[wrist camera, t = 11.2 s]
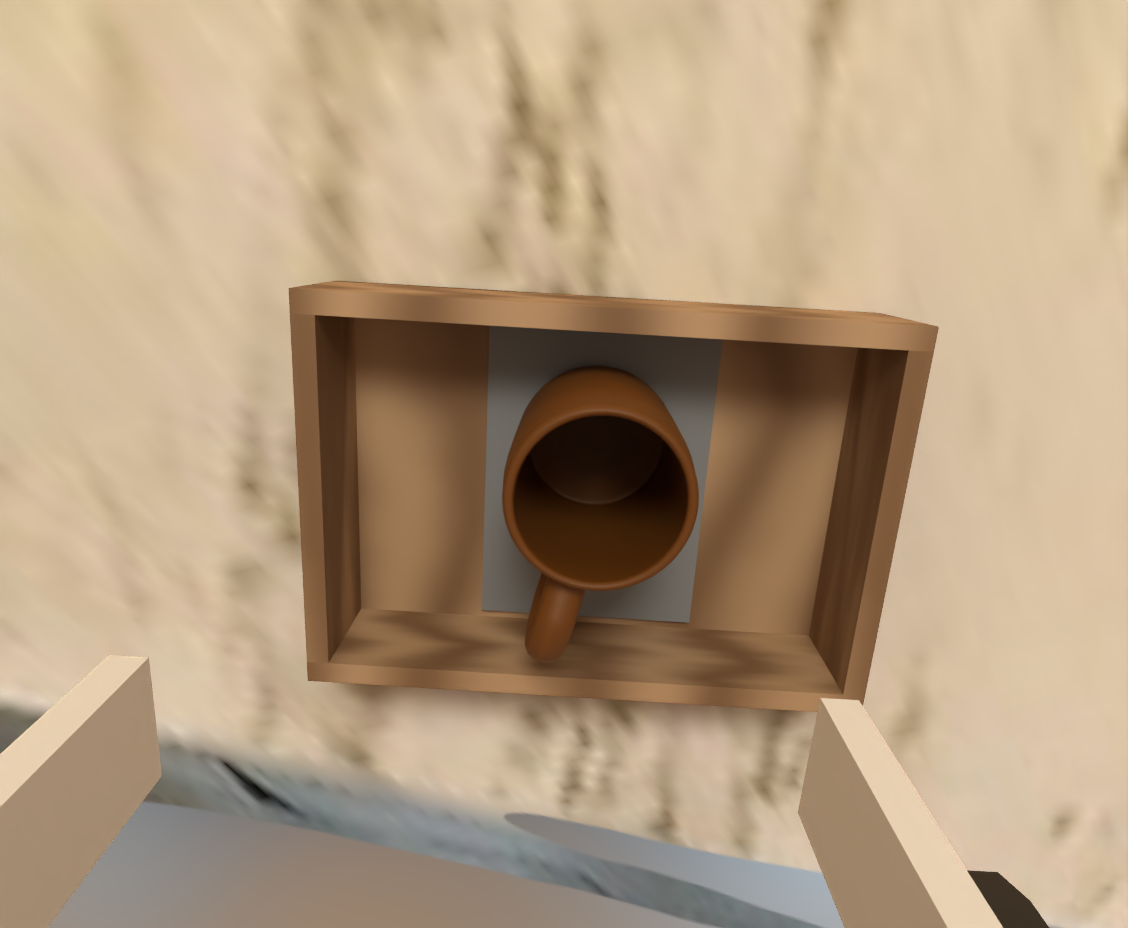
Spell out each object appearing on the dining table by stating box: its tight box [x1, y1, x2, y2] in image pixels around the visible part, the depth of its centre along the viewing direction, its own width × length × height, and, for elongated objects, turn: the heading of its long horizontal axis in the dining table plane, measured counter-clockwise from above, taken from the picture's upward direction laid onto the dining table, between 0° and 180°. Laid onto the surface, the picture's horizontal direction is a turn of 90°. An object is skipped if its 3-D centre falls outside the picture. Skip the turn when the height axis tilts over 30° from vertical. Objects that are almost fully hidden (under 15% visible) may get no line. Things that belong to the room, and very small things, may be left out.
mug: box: [502, 366, 699, 663], centre depth 32 cm, size 12×8×9 cm, turn 162°
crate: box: [289, 281, 939, 712], centre depth 35 cm, size 26×18×6 cm
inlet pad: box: [482, 326, 723, 623], centre depth 37 cm, size 11×15×1 cm
